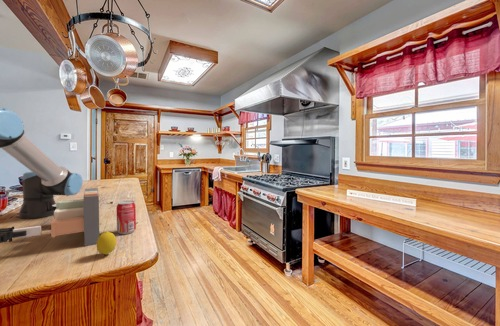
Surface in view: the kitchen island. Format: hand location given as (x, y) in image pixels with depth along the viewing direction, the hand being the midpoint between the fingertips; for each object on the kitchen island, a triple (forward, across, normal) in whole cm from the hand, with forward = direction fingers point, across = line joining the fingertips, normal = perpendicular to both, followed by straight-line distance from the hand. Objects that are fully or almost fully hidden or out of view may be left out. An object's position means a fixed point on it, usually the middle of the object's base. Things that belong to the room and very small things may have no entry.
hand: (40, 230), depth 77 cm
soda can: (+26, -5, -8) cm, 28 cm away
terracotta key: (+9, 0, -2) cm, 10 cm away
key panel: (+14, -7, -7) cm, 18 cm away
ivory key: (+9, -7, 0) cm, 12 cm away
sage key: (+9, -14, +2) cm, 17 cm away
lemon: (+18, +15, -8) cm, 25 cm away
